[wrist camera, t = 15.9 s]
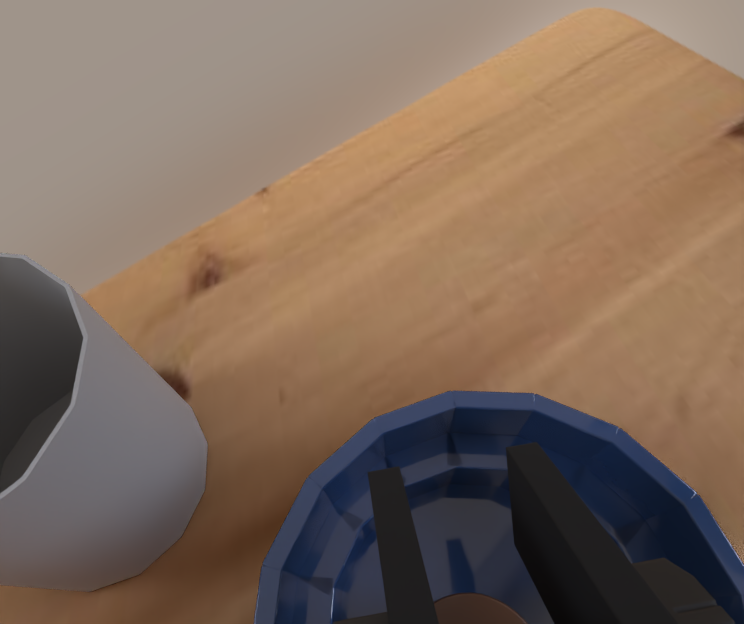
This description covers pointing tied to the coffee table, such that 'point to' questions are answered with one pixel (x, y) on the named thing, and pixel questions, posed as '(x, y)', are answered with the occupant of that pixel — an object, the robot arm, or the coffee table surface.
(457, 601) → the cylinder with round base
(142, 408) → the cup
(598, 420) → the bowl
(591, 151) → the coffee table surface
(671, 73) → the coffee table surface
